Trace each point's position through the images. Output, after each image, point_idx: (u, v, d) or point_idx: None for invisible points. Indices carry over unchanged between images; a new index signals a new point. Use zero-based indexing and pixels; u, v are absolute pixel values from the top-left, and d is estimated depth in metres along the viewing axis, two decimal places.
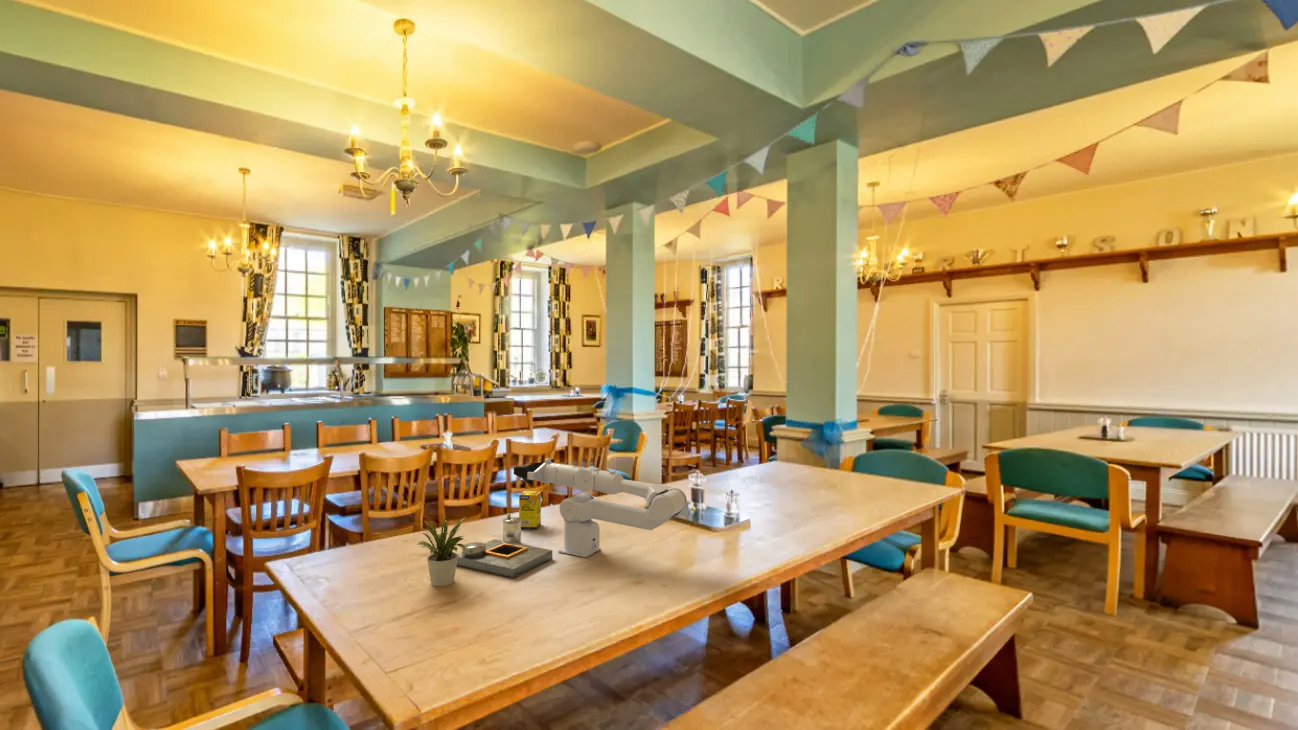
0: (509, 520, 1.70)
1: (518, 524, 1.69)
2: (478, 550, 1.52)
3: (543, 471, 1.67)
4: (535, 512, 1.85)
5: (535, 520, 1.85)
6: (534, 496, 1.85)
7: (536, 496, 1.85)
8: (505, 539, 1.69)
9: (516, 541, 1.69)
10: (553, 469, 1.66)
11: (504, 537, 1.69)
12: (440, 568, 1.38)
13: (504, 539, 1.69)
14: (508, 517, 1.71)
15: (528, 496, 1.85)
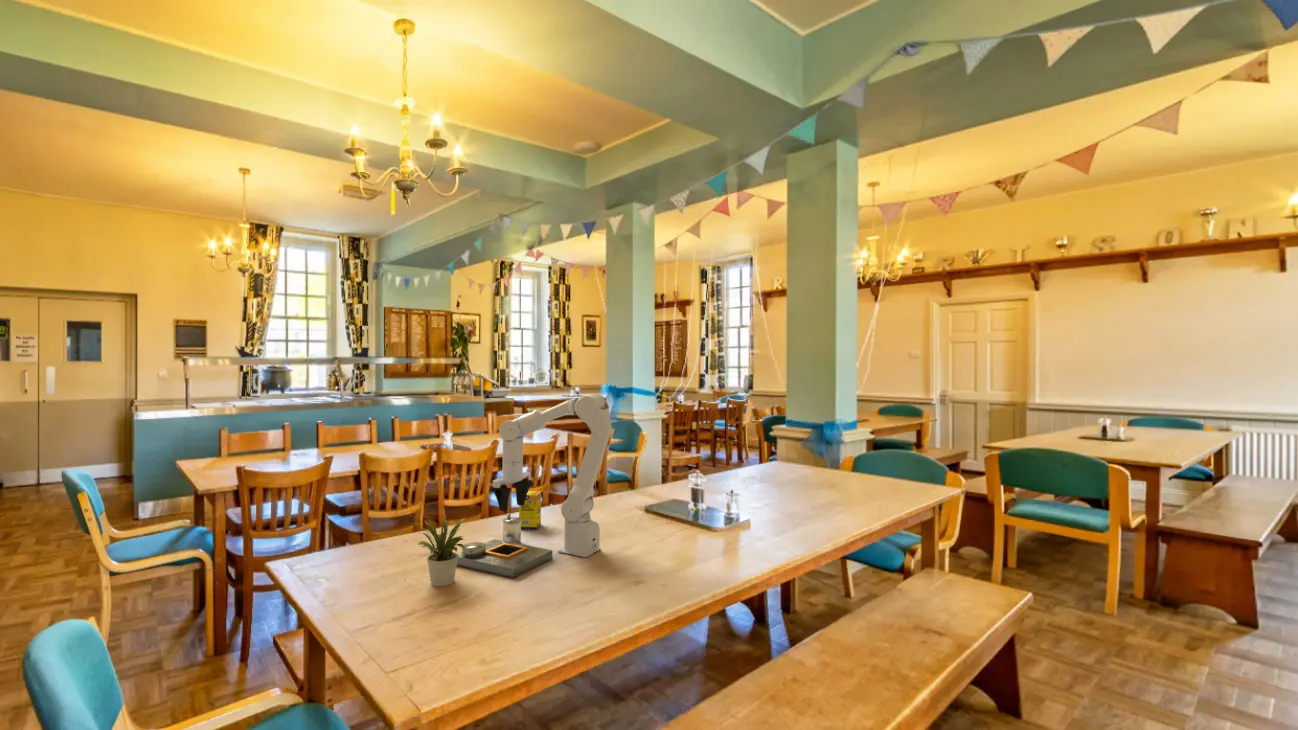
0: (509, 520, 1.70)
1: (518, 524, 1.69)
2: (478, 550, 1.52)
3: (504, 476, 1.68)
4: (535, 512, 1.85)
5: (535, 520, 1.85)
6: (534, 496, 1.85)
7: (536, 496, 1.85)
8: (505, 539, 1.69)
9: (516, 541, 1.69)
10: None
11: (504, 537, 1.69)
12: (440, 568, 1.38)
13: (504, 539, 1.69)
14: (508, 517, 1.71)
15: (528, 496, 1.85)
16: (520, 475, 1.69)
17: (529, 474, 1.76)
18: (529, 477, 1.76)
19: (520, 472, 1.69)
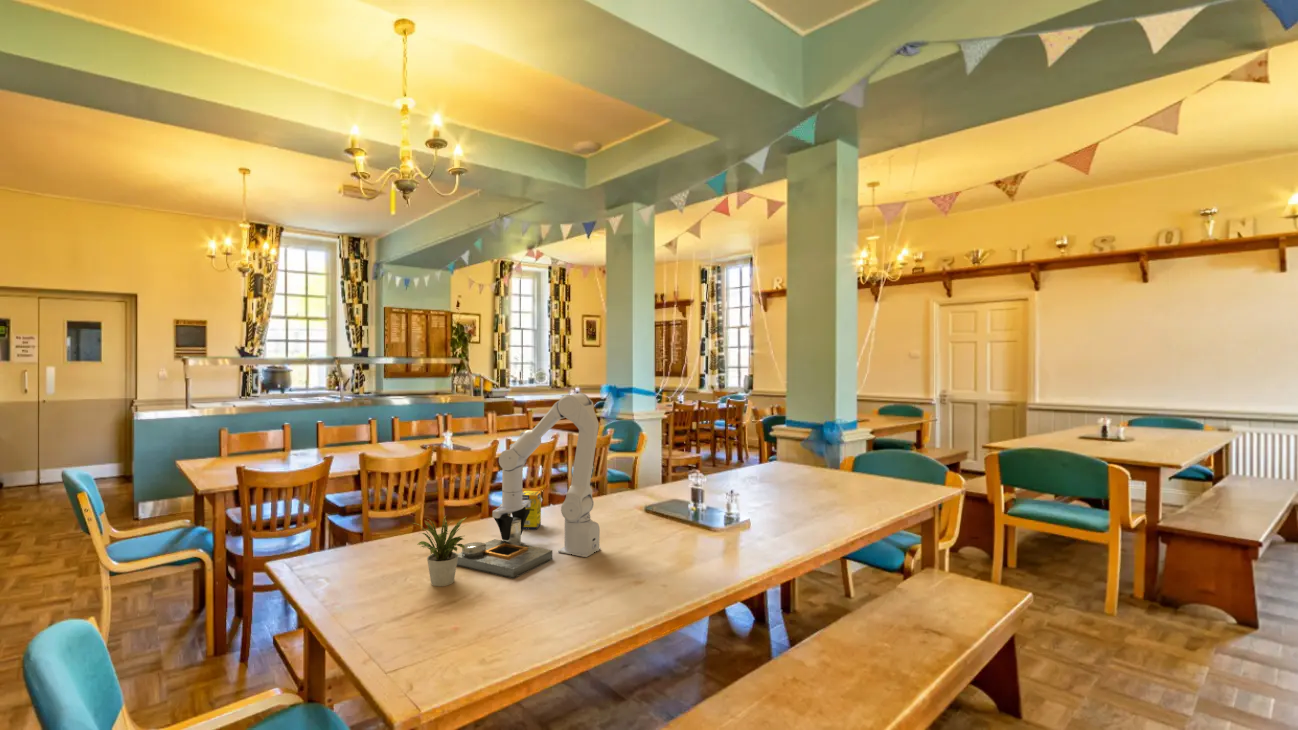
0: None
1: (518, 524, 1.69)
2: (478, 550, 1.52)
3: (503, 506, 1.68)
4: (535, 512, 1.85)
5: (535, 520, 1.85)
6: (534, 496, 1.85)
7: (536, 496, 1.85)
8: None
9: (516, 541, 1.69)
10: (502, 494, 1.69)
11: None
12: (440, 568, 1.38)
13: None
14: None
15: (528, 496, 1.85)
16: (520, 504, 1.69)
17: (529, 502, 1.76)
18: (529, 505, 1.76)
19: (520, 501, 1.69)
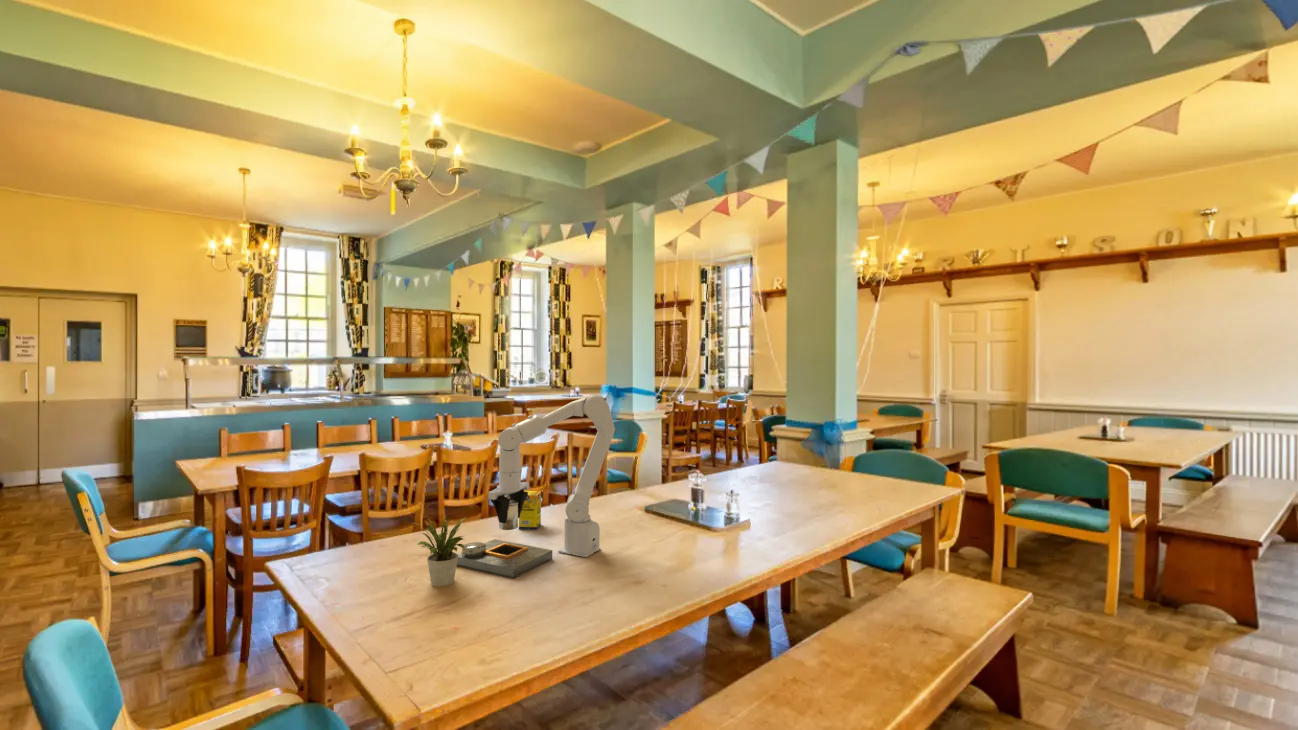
0: None
1: (515, 507, 1.62)
2: (478, 550, 1.52)
3: (500, 487, 1.61)
4: (535, 512, 1.85)
5: (535, 520, 1.85)
6: (534, 496, 1.85)
7: (536, 496, 1.85)
8: (501, 523, 1.62)
9: (513, 525, 1.62)
10: (499, 475, 1.62)
11: None
12: (440, 569, 1.38)
13: None
14: None
15: (528, 496, 1.85)
16: (517, 486, 1.62)
17: (527, 484, 1.69)
18: (527, 487, 1.69)
19: (517, 483, 1.62)
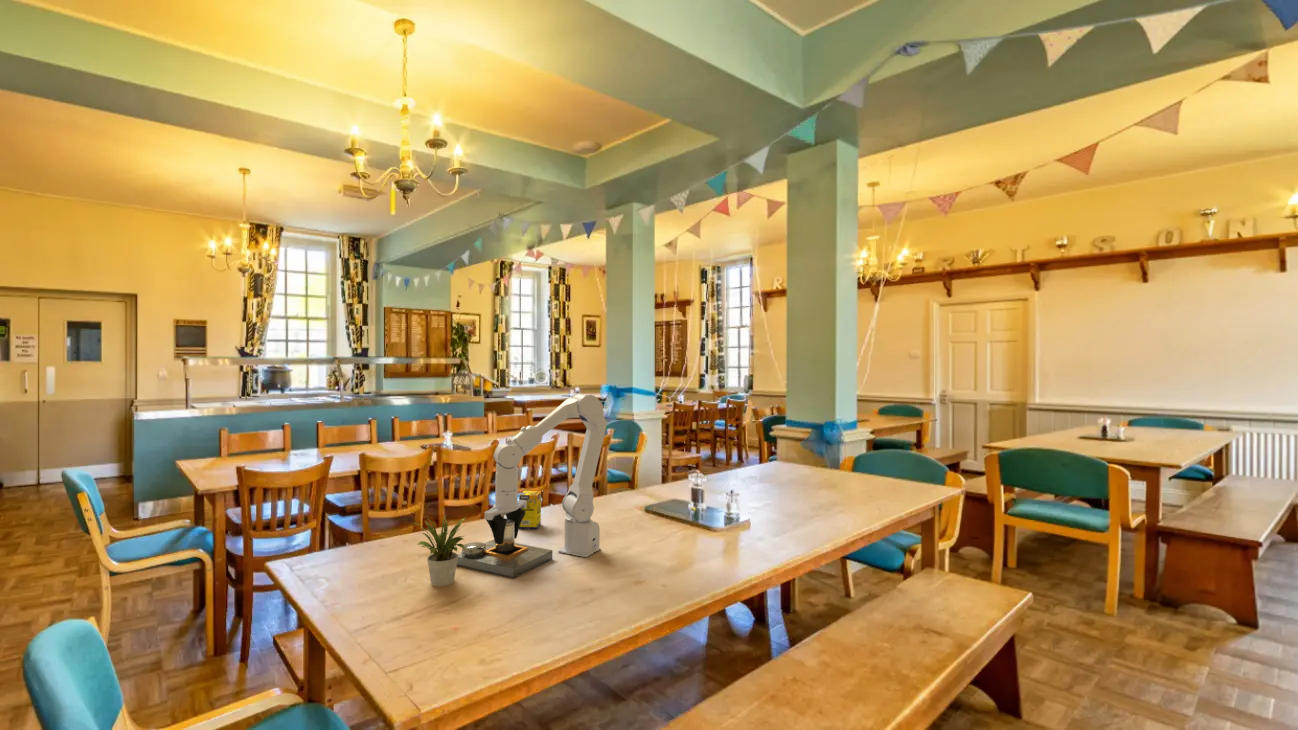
0: None
1: (511, 527, 1.55)
2: (478, 550, 1.52)
3: (497, 507, 1.54)
4: (535, 512, 1.85)
5: (535, 520, 1.85)
6: (534, 496, 1.85)
7: (536, 496, 1.85)
8: None
9: (509, 546, 1.55)
10: (495, 494, 1.55)
11: None
12: (440, 568, 1.38)
13: None
14: None
15: (528, 496, 1.85)
16: (515, 505, 1.55)
17: (525, 503, 1.61)
18: (525, 506, 1.62)
19: (515, 502, 1.55)
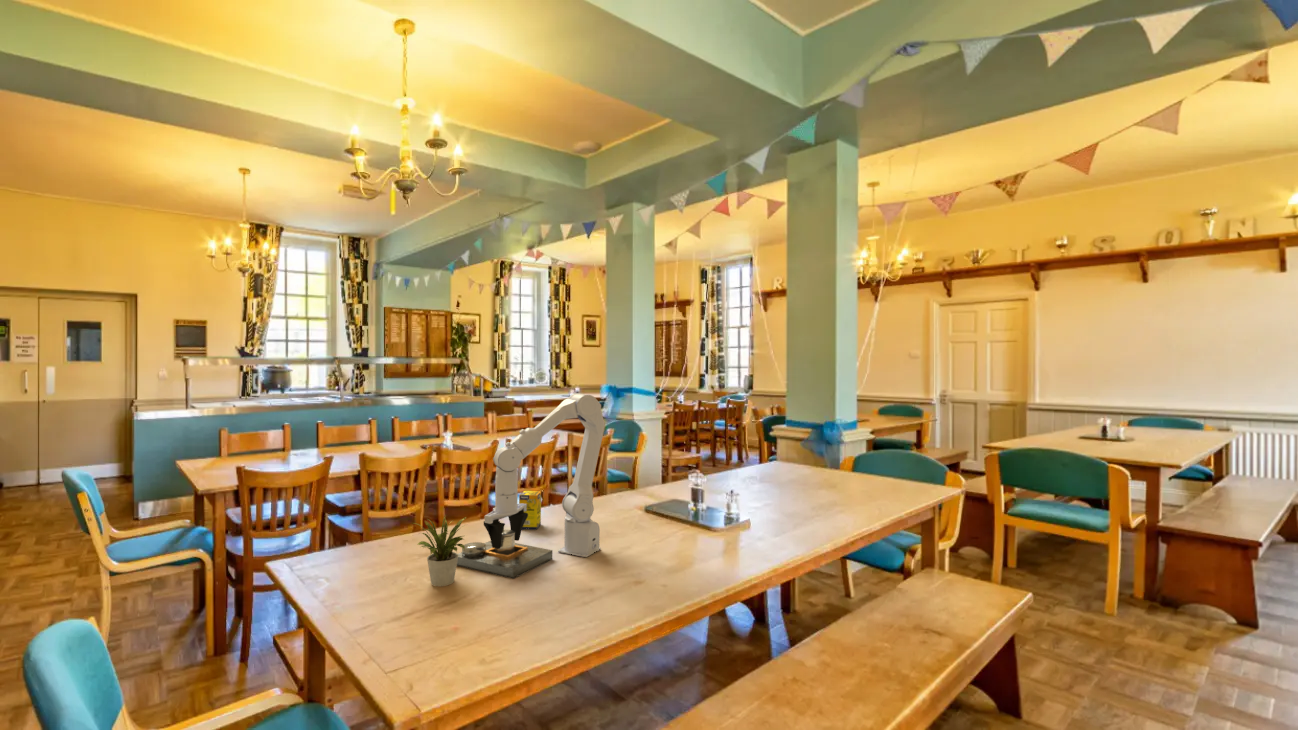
0: None
1: (511, 538, 1.55)
2: (478, 550, 1.52)
3: (497, 510, 1.54)
4: (535, 512, 1.85)
5: (535, 520, 1.85)
6: (534, 496, 1.85)
7: (536, 496, 1.85)
8: None
9: None
10: (495, 497, 1.55)
11: (496, 552, 1.55)
12: (440, 569, 1.38)
13: None
14: None
15: (528, 496, 1.85)
16: (515, 508, 1.55)
17: (525, 506, 1.61)
18: (525, 509, 1.62)
19: (515, 505, 1.55)
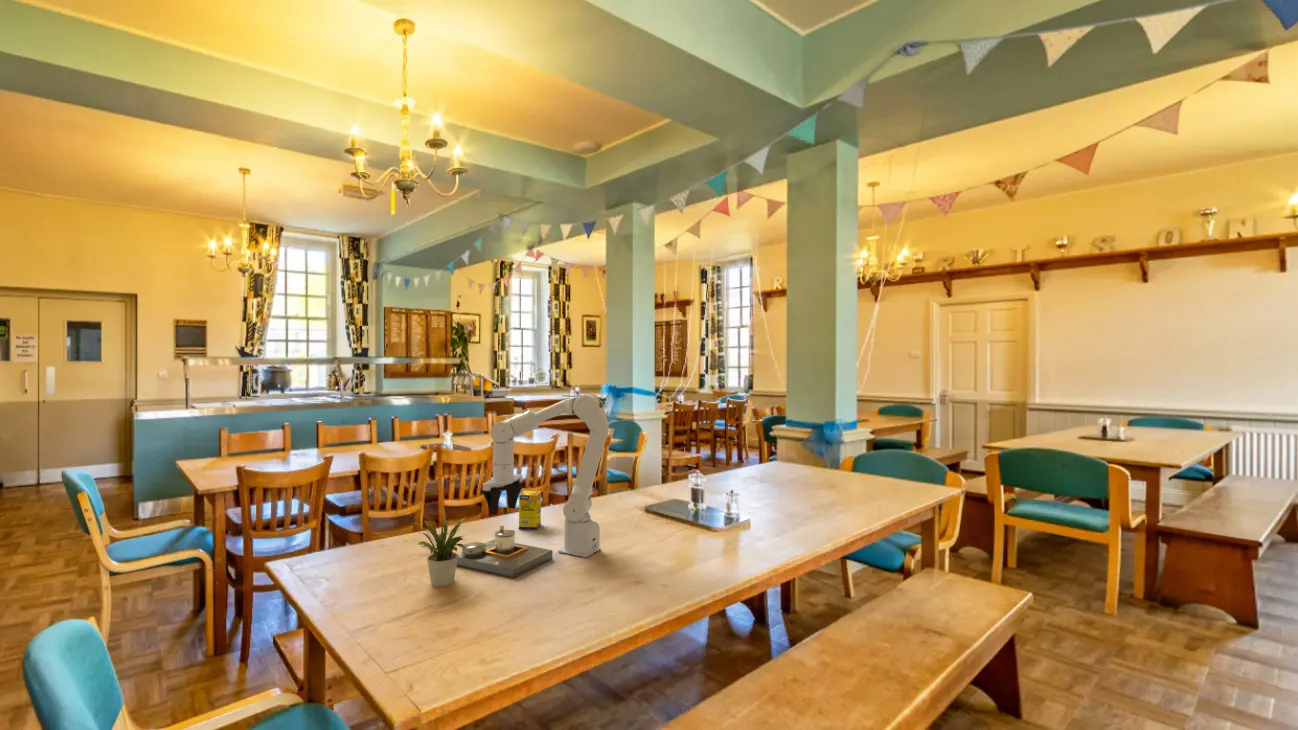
0: (501, 533, 1.55)
1: (511, 538, 1.55)
2: (478, 550, 1.52)
3: (494, 479, 1.65)
4: (535, 512, 1.85)
5: (535, 520, 1.85)
6: (534, 496, 1.85)
7: (536, 496, 1.85)
8: None
9: None
10: (493, 467, 1.65)
11: (496, 552, 1.55)
12: (440, 568, 1.38)
13: None
14: (501, 530, 1.57)
15: (528, 496, 1.85)
16: (511, 478, 1.66)
17: (520, 476, 1.72)
18: (520, 479, 1.72)
19: (511, 474, 1.66)
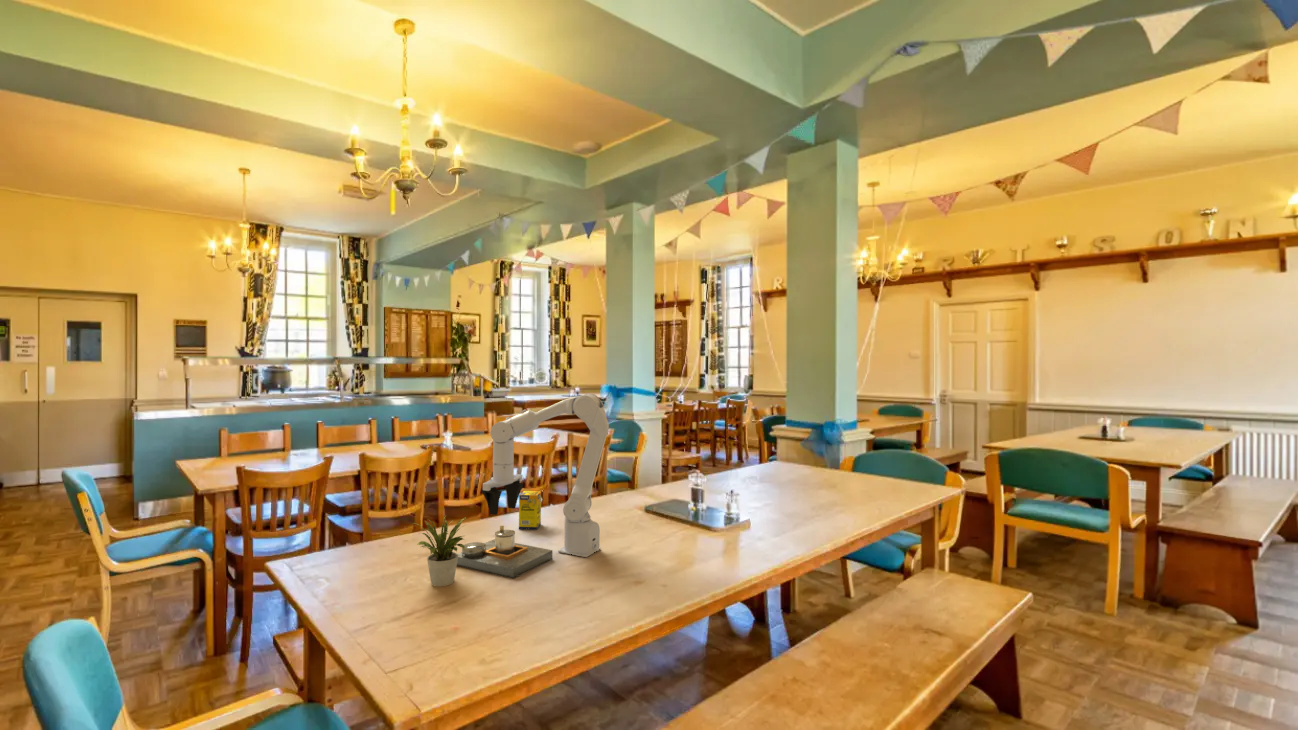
0: (501, 533, 1.55)
1: (511, 538, 1.55)
2: (478, 550, 1.52)
3: (494, 479, 1.65)
4: (535, 512, 1.85)
5: (535, 520, 1.85)
6: (534, 496, 1.85)
7: (536, 496, 1.85)
8: None
9: None
10: (493, 467, 1.65)
11: (496, 552, 1.55)
12: (440, 568, 1.38)
13: None
14: (501, 530, 1.57)
15: (528, 496, 1.85)
16: (511, 478, 1.66)
17: (520, 476, 1.72)
18: (520, 479, 1.72)
19: (511, 474, 1.66)
